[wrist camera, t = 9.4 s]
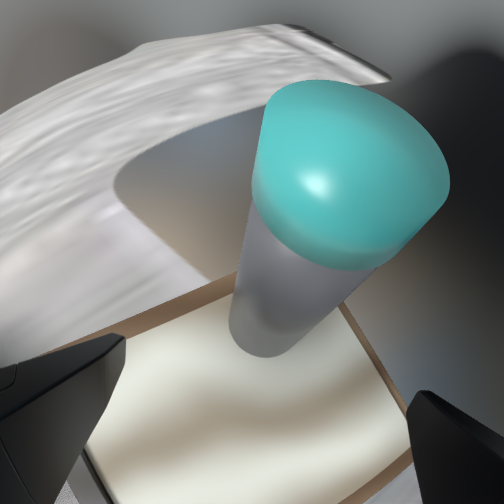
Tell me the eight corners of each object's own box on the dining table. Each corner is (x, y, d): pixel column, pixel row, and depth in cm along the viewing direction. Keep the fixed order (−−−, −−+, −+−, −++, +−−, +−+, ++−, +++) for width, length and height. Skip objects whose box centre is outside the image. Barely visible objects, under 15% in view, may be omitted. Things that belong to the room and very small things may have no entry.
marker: (315, 336, 17) (476, 186, 6) (250, 373, 16) (356, 256, 4) (278, 275, 19) (365, 75, 7) (213, 305, 17) (227, 92, 6)
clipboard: (423, 446, 15) (436, 446, 14) (154, 591, 9) (151, 601, 7) (301, 246, 21) (307, 235, 20) (30, 363, 15) (18, 358, 13)
